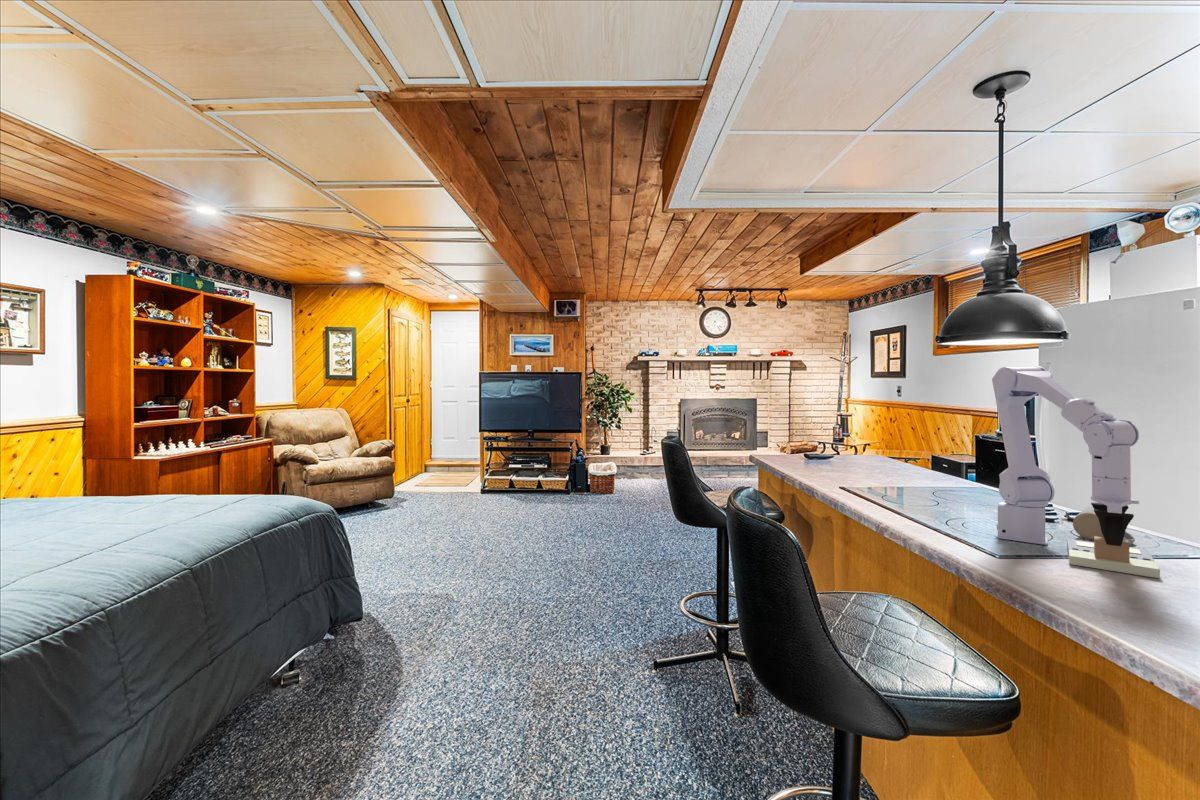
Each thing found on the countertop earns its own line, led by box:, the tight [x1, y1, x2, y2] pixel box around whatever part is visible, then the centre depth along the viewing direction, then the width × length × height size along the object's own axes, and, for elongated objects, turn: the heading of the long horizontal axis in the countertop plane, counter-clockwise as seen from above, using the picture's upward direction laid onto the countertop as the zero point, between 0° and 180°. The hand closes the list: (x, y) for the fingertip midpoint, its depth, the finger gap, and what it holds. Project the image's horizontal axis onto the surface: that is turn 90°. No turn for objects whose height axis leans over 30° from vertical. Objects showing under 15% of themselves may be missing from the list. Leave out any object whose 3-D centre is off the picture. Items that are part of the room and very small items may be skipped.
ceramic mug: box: [1072, 506, 1136, 546], centre depth 124 cm, size 11×8×8 cm
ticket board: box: [1066, 538, 1155, 561], centre depth 110 cm, size 13×10×2 cm
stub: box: [1068, 536, 1161, 579], centre depth 104 cm, size 13×6×6 cm, turn 48°
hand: (1111, 541), depth 104 cm, fingers open, 7 cm apart
